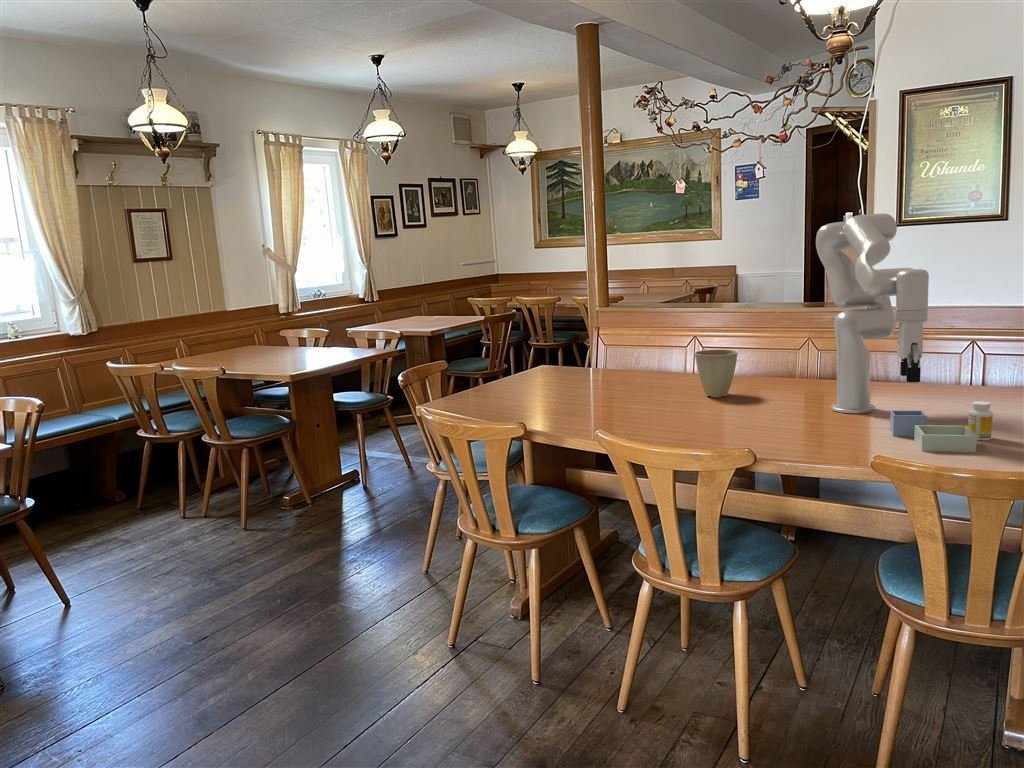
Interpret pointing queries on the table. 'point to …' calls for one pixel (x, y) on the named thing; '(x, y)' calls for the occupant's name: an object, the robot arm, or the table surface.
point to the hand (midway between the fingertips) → (909, 378)
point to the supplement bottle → (980, 420)
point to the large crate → (945, 438)
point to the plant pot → (716, 370)
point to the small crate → (906, 421)
